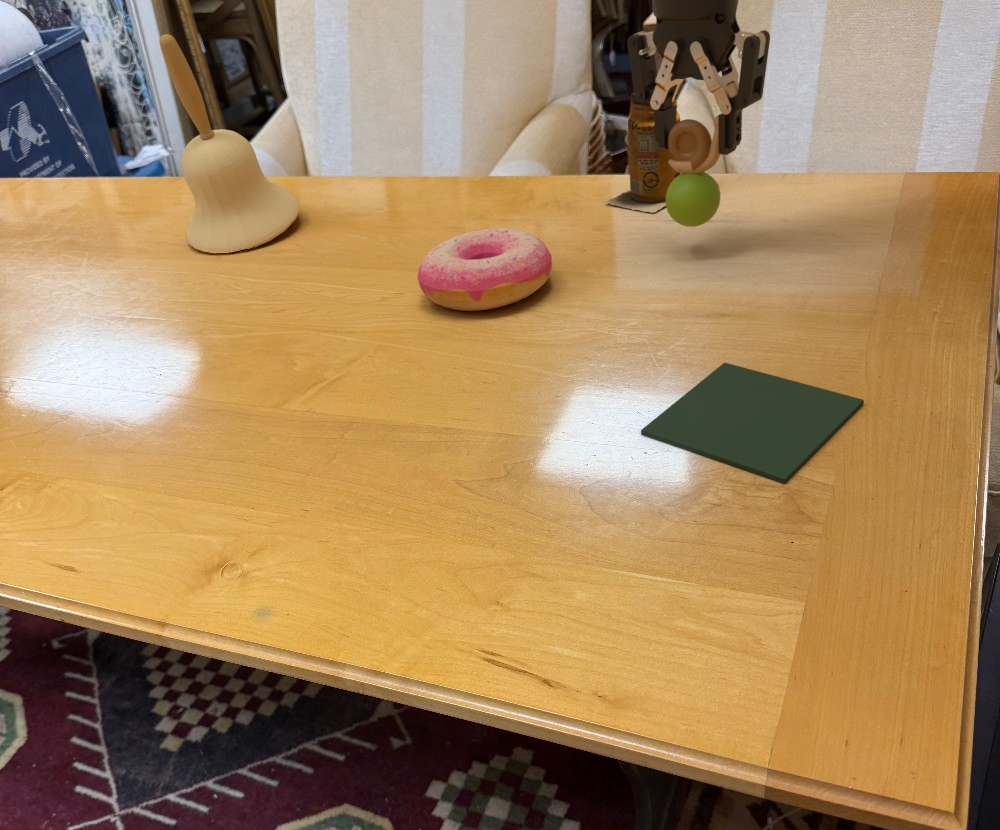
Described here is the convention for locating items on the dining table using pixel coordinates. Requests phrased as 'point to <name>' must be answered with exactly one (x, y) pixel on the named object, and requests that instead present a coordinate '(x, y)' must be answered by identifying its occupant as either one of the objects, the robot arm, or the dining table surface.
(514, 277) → the donut
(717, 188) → the snail figurine
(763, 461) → the mat
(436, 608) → the dining table surface
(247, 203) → the handbell
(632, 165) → the condiment
